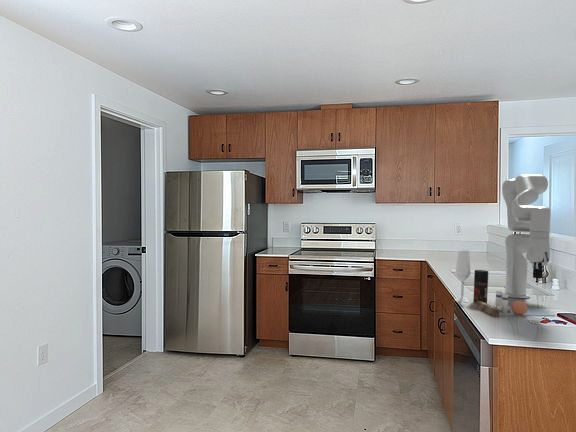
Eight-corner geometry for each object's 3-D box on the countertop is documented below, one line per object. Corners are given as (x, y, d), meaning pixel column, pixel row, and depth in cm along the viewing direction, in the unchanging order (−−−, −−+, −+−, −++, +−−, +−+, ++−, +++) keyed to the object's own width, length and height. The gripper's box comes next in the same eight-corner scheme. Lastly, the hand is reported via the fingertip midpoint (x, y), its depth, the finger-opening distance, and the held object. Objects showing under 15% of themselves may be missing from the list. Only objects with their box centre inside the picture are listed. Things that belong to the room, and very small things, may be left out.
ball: (516, 297, 189) (520, 297, 193) (506, 307, 191) (510, 307, 195) (528, 308, 185) (532, 308, 190) (517, 318, 187) (521, 317, 192)
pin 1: (494, 309, 198) (494, 290, 198) (499, 309, 198) (500, 290, 198) (497, 311, 196) (497, 291, 195) (502, 311, 196) (503, 291, 195)
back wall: (476, 307, 202) (476, 300, 202) (480, 307, 202) (481, 300, 202) (494, 316, 186) (494, 309, 186) (499, 316, 186) (499, 309, 186)
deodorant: (475, 300, 217) (476, 269, 216) (488, 302, 213) (489, 270, 212) (471, 302, 212) (472, 270, 211) (484, 304, 208) (486, 272, 208)
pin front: (508, 311, 196) (488, 311, 196) (508, 305, 196) (489, 305, 195) (511, 313, 193) (491, 312, 193) (511, 307, 193) (491, 306, 193)
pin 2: (500, 312, 193) (500, 293, 193) (505, 312, 193) (506, 293, 193) (503, 314, 191) (503, 294, 190) (508, 314, 191) (509, 294, 190)
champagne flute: (470, 300, 217) (472, 250, 216) (467, 302, 211) (469, 251, 210) (456, 298, 221) (458, 249, 220) (452, 300, 215) (454, 250, 214)
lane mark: (484, 308, 200) (484, 308, 200) (539, 309, 201) (539, 309, 201) (497, 315, 189) (497, 314, 189) (555, 315, 190) (555, 315, 190)
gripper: (521, 234, 201) (519, 274, 202) (541, 236, 186) (539, 280, 187) (537, 234, 201) (535, 275, 202) (559, 237, 187) (557, 281, 187)
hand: (537, 277), depth 195 cm, fingers closed
